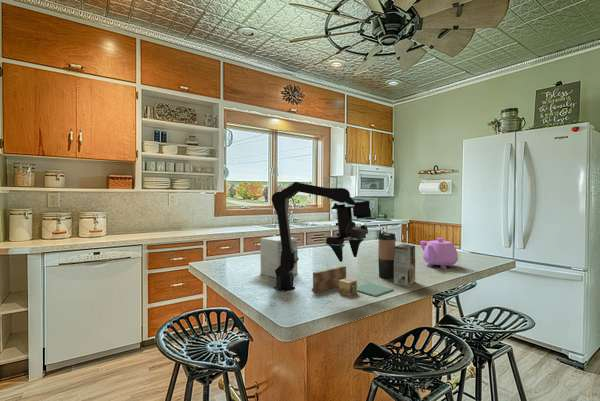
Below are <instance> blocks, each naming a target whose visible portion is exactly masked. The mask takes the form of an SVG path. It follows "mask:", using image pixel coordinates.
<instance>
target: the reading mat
mask: <svg viewBox="0 0 600 401" xmlns="http://www.w3.org/2000/svg"><path fill="white" fill-rule="evenodd" d="M393 291H394V288H391V287H388V286H383V285H380V284H376V283H372V282H367V283H363V284H359V285H357V293H361V294H365V295H367V296H372V297H374V298H375V297H379V296H381V295H382V296H383V295H384V294H388V293H389V292H390V293H391V292H393Z"/></svg>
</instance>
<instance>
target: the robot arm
mask: <svg viewBox="0 0 600 401" xmlns="http://www.w3.org/2000/svg"><path fill="white" fill-rule="evenodd" d="M298 193H303V194H304V193H305V194H309V195H313V196H318V197H319V196H320V197H325V198H327V199H330V200H332V201H335V203H334V204H333V206H332V207H331V210H336V217H337V222H335V227H337V228H338V229H337V230H338V233H337V232H336V235H331V236H327V237H326V239H325V244H326V245H328V247H330V249H331V250H332V251H333V253H334V255H335V256H336V258H337V259H338V261H339V262H340V263H342V262H343V258H344V256H343V251H344V250H343V248H344V246H346V245H345V244H344V243H345V241H348V244H349V246H350V249H351V250H350V251H351V254H352V256H353V257H354V258H357V257H358V252H359V247H360V244H361V243H362V242H363V241H364V240H365V239H366V237H367V236H366V235H367V234H369V228H368V225H366V224H362V225H360V226H357V225H356V222H355V221H353V218H356V220H360V219H371V218H372V210H371V207H370V201H369V200H364V201H355V199H353V198H352V197H351V194H350V191H349V190H348V189H347V188H345V187H324V186H319V185H313V184H309V183H303V182H299V181H294V182H293V183H292V184H290V185H289V186H287V187H285V188H284V189H282V190H281V191H276V192H275V193H273V194H272V196H271V202H272V206H273V209H274V210H275V212H276V213H275V214H276V215H277V221H278V230H279V236H280V238H281V246H282V252H281V261H280V266H279V267H278V268H277V269H276V270H275V273H276V278H275V286H273V288H274V289H276V290H279V291H281V292H285V291H290V290H293V289H296V286H294V276H293V273H292V272H291V271H292V270H293V269H294V267H295V266H296V265H297V266H298V261H299V260H300V258H299V256H298V253H299V252H298V251H299V250H298V249H297V250H296V251H294V249H293V247H292V242H291V237H292V234H291V227H290V221H289V220H290V219H289V214H288V213H289V208H290V199H292V198H293V197H294V196H296V195H297V194H298ZM337 202H338V203H340V204H338V203H337ZM341 203H342V204H341ZM346 204H347V205H348V206H346ZM349 205H350V206H349Z"/></svg>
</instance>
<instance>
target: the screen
mask: <svg viewBox="0 0 600 401" xmlns="http://www.w3.org/2000/svg"><path fill="white" fill-rule="evenodd" d="M345 278H347V266H346V265H341V266H336V267H332V268H327V269H323V270H317V271H314V272H313V273H312V288H311V291H312V292H313V293H322V291H325V290H329V289H332V288H335V287H339V280H341V279H345Z"/></svg>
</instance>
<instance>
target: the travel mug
mask: <svg viewBox="0 0 600 401" xmlns="http://www.w3.org/2000/svg"><path fill="white" fill-rule="evenodd" d="M395 246H396V234H395V233H391V232H380V233H378V248H377V249H378V250H377V251H378V255H377V256H378V258H377V259H378V277H379V278H381V279H387V280H391V279H394V247H395Z"/></svg>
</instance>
